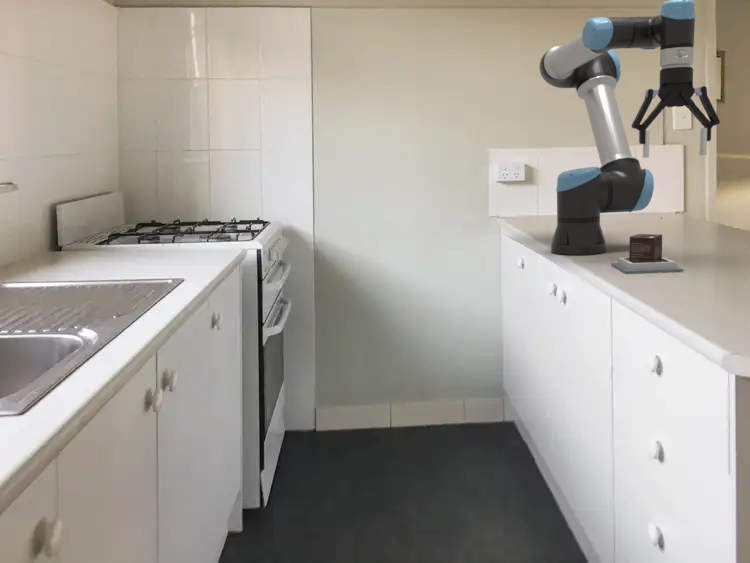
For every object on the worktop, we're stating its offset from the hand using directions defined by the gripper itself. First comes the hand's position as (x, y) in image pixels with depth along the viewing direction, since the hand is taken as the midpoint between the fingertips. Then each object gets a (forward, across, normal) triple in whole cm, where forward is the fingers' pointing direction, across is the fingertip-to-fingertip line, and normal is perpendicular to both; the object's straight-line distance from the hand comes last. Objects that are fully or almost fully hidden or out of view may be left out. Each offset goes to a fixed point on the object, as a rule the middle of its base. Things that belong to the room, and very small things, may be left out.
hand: (674, 156), depth 188 cm
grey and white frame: (+26, -9, -11) cm, 30 cm away
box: (+26, -9, -11) cm, 29 cm away
